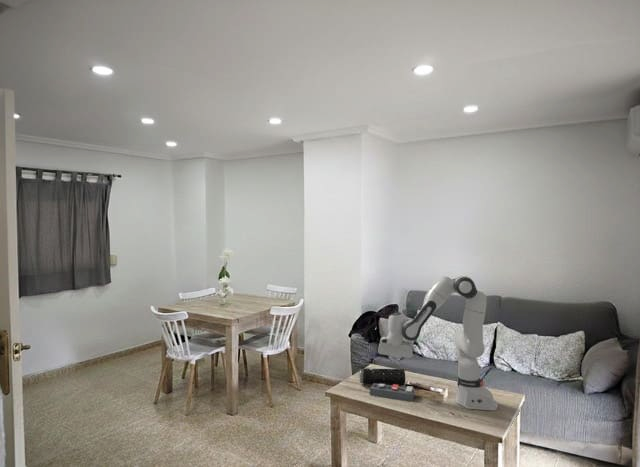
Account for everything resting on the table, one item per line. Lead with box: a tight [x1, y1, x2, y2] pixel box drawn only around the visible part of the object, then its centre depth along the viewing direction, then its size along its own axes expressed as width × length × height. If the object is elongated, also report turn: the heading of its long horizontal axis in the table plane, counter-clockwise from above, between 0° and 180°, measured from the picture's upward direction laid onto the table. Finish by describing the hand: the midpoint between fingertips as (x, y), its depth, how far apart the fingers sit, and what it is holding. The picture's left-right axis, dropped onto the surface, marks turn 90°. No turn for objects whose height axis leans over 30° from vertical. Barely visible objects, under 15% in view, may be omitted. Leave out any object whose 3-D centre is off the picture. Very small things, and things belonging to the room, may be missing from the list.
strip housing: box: [369, 383, 416, 402], centre depth 245 cm, size 25×9×4 cm, turn 68°
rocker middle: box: [391, 384, 400, 390], centre depth 245 cm, size 3×5×1 cm, turn 158°
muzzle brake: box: [358, 367, 406, 386], centre depth 262 cm, size 10×28×10 cm, turn 89°
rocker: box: [406, 385, 414, 392], centre depth 242 cm, size 3×5×1 cm, turn 158°
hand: (395, 363), depth 246 cm, fingers closed
